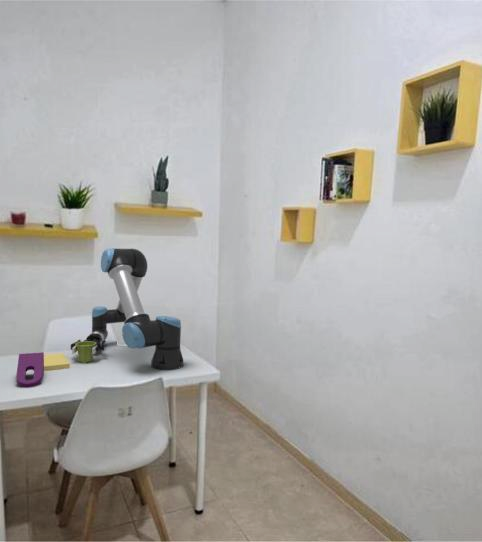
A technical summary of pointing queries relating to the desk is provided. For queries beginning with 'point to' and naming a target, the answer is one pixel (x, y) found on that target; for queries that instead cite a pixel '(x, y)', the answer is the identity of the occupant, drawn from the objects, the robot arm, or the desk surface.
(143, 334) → the robot arm
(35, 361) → the mounting bracket
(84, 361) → the plant pot
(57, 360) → the shelf board
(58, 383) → the desk surface
